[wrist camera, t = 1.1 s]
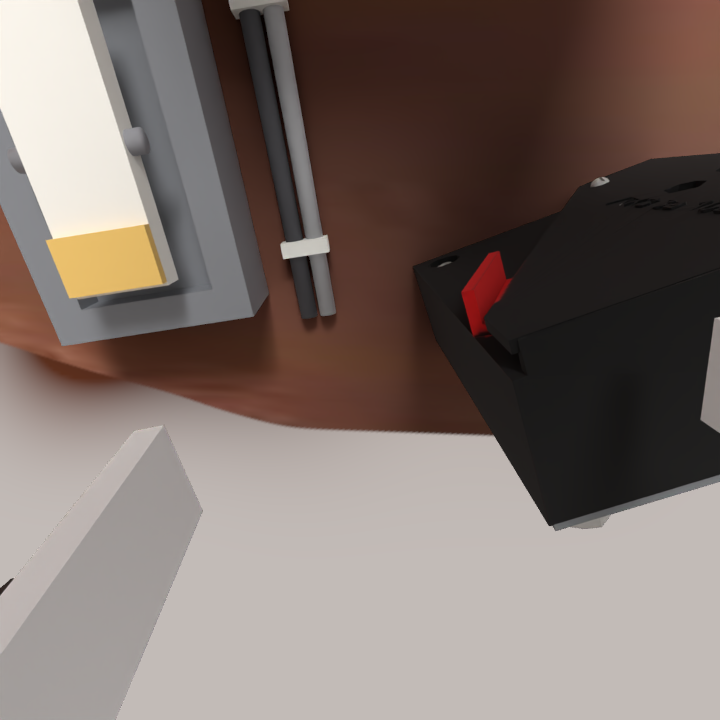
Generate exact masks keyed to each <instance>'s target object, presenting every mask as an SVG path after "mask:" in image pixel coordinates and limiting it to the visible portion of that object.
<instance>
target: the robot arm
mask: <svg viewBox="0 0 720 720" xmlns="http://www.w3.org/2000/svg"><path fill="white" fill-rule="evenodd" d="M701 420H702V421H703V422H705V423H706V424H707V425H709V426H710V427H712V428H713V429H715V430H716V431H717V432H719V433H720V317H718V318H714V325H713V333H712V340H711V347H710V354H709V362H708V369H707V376H706V383H705V391H704V398H703V405H702V412H701ZM202 511H203V510H202V508H201V506H200V504H199V501H198V499H197V497H196V495H195V492H194V491H193V488H192V486H191V484H190V481H189V479H188V477H187V475H186V473H185V470H184V468H183V466H182V463H181V461H180V459H179V457H178V455H177V452H176V450H175V448H174V446H173V443H172V441H171V439H170V437H169V435H168V432H167V430H166V428H165V426H164V425H161V426H156V427H151V428H146V429H140V430H135V431H133V433H132V434H131V435H130V436H129V438H128V439H127V440H126V441H125V443H124V444H123V445H122V446H121V447H120V449H119V450H118V451H117V452H116V454H115V455H114V456H113V457H112V459H111V460H110V461H109V462H108V463H107V465H106V466H105V467H104V469H103V470H102V471H101V472H100V473H99V475H98V476H97V477H96V478H95V480H94V481H93V482H92V483H91V485H90V486H89V487H88V488H87V489H86V491H85V492H84V493H83V494H82V496H81V497H80V498H79V499H78V500H77V502H76V503H75V504H74V505H73V507H72V508H71V509H70V510H69V512H68V513H67V514H66V515H65V516H64V518H63V519H62V520H61V522H60V523H59V524H58V525H57V526H56V528H55V529H54V530H53V531H52V533H51V534H50V535H49V536H48V538H47V539H46V540H45V541H44V542H43V544H42V545H41V546H40V547H39V549H38V550H37V551H36V552H35V553H34V555H33V556H32V557H31V558H30V560H29V561H28V562H27V563H26V564H25V566H24V567H23V568H22V570H21V571H20V572H19V573H18V574H17V576H16V577H15V578H12V579H10V580H9V581H8V582H7V583H6V584H5V585H3V586H2V587H1V588H0V720H116V718H117V715H118V712H119V710H120V708H121V706H122V703H123V701H124V698H125V696H126V694H127V691H128V689H129V686H130V684H131V681H132V679H133V676H134V674H135V672H136V670H137V667H138V665H139V662H140V660H141V658H142V655H143V653H144V650H145V648H146V646H147V643H148V641H149V638H150V636H151V634H152V631H153V629H154V627H155V624H156V622H157V619H158V617H159V615H160V612H161V610H162V607H163V605H164V603H165V600H166V598H167V595H168V593H169V591H170V588H171V586H172V583H173V581H174V578H175V576H176V574H177V571H178V569H179V567H180V564H181V562H182V559H183V557H184V555H185V552H186V550H187V547H188V545H189V543H190V540H191V538H192V535H193V533H194V531H195V528H196V526H197V523H198V521H199V518H200V516H201V514H202Z"/></svg>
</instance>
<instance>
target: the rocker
mask: <svg viewBox="0 0 720 720" xmlns="http://www.w3.org/2000/svg"><path fill="white" fill-rule="evenodd" d="M0 109H1V112H2V114H3V117H4V119H5V122H6V124H7V127H8V129H9V132H10V134H11V136H12V139H13V141H14V144H15V146H16V147H13V148H9V149H8V152H7V156H8V159H9V162H10V164H11V165H12V167H13V168H14V169H15V170H16V171H17V172H18V173H20V174H27V176H28V178H29V181H30V183H31V186H32V188H33V191H34V193H35V196H36V198H37V201H38V203H39V206H40V208H41V211H42V213H43V216H44V218H45V220H46V223H47V225H48V228H49V230H50V233H51V235H52V238H53V239H50V240H46V243H47V245H48V248H49V250H50V252H51V255H52V257H53V260H54V262H55V265H56V267H57V269H58V272H59V274H60V277H61V279H62V282H63V284H64V286H65V289H66V291H67V294H68V296H69V299H70V298H77V299H84V298H90V297H97V296H103V295H110V294H116V293H122V292H129V291H135V290H142V289H148V288H154V287H161V286H167V285H170V284H171V283H173V282H175V281H177V280H178V275H177V272H176V269H175V266H174V262H173V259H172V256H171V253H170V249H169V246H168V243H167V240H166V236H165V233H164V230H163V227H162V223H161V220H160V217H159V214H158V210H157V207H156V204H155V201H154V197H153V194H152V191H151V188H150V184H149V181H148V178H147V175H146V171H145V168H144V165H143V162H142V158H141V155H145V154H149V153H150V144H149V140H148V138H147V135H146V133H145V132H144V130H143V129H142V128H141V127H136V128H132V126H131V123H130V120H129V116H128V113H127V110H126V107H125V103H124V100H123V97H122V94H121V90H120V87H119V84H118V81H117V77H116V74H115V71H114V68H113V64H112V61H111V58H110V55H109V51H108V48H107V45H106V42H105V38H104V35H103V32H102V29H101V25H100V22H99V19H98V16H97V12H96V9H95V6H94V3H93V0H0Z"/></svg>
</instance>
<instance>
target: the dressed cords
mask: <svg viewBox="0 0 720 720" xmlns="http://www.w3.org/2000/svg"><path fill="white" fill-rule="evenodd" d="M228 1H229V5H230V10H231V12H232V13H233V15H234V16H235V18H236V19H240V22H241V26H242V31H243V36H244V41H245V46H246V51H247V55H248V60H249V65H250V70H251V75H252V80H253V85H254V89H255V94H256V99H257V104H258V109H259V114H260V118H261V123H262V128H263V133H264V138H265V143H266V147H267V152H268V157H269V162H270V167H271V172H272V177H273V181H274V186H275V191H276V196H277V201H278V206H279V210H280V215H281V220H282V225H283V230H284V235H285V240H286V241H285V242H282V243H281V244H280V246H281V251H282V255H283V259H288V258H289V259H290V264H291V269H292V273H293V278H294V283H295V288H296V293H297V298H298V302H299V307H300V312H301V317H302V318H303V319H309V318H313V317H316V316H317V315H318V314H317V309H316V304H315V299H314V293H313V288H312V283H311V278H310V272H309V267H308V262H307V257H306V256H307V255H309V258H310V263H311V268H312V274H313V279H314V284H315V290H316V295H317V300H318V305H319V311H320V315H321V316H329V315H333V314H335V313H336V308H335V302H334V296H333V291H332V285H331V279H330V273H329V268H328V262H327V256H326V253H327V252H330V246H329V240H328V235H323V233H322V227H321V222H320V216H319V210H318V204H317V199H316V193H315V187H314V182H313V176H312V170H311V164H310V159H309V153H308V147H307V141H306V136H305V130H304V124H303V118H302V113H301V107H300V101H299V95H298V90H297V84H296V78H295V72H294V67H293V61H292V55H291V49H290V44H289V38H288V32H287V26H286V21H285V15H284V11H289V5H288V0H228ZM260 15H264V20H265V25H266V30H267V35H268V41H269V46H270V51H271V57H272V62H273V67H274V73H275V78H276V83H277V88H278V94H279V99H280V104H281V110H282V115H283V120H284V125H285V131H286V136H287V141H288V147H289V152H290V157H291V163H292V168H293V173H294V178H295V184H296V189H297V194H298V200H299V205H300V210H301V215H302V221H303V226H304V231H305V237H306V238H304V239H303V236H302V231H301V225H300V220H299V215H298V210H297V204H296V199H295V194H294V189H293V184H292V178H291V173H290V168H289V163H288V157H287V152H286V147H285V142H284V137H283V131H282V126H281V121H280V116H279V110H278V105H277V100H276V95H275V90H274V84H273V79H272V74H271V69H270V63H269V58H268V53H267V48H266V42H265V37H264V32H263V27H262V22H261V16H260Z"/></svg>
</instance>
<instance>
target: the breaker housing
mask: <svg viewBox="0 0 720 720" xmlns="http://www.w3.org/2000/svg"><path fill="white" fill-rule="evenodd" d="M93 3H94V6H95V9H96V12H97V16H98V19H99V22H100V25H101V29H102V32H103V35H104V38H105V42H106V45H107V48H108V51H109V55H110V58H111V61H112V64H113V68H114V71H115V74H116V77H117V81H118V84H119V87H120V90H121V94H122V97H123V100H124V103H125V107H126V110H127V113H128V116H129V120H130V123H131V126H132V128H136V127H141V128H142V129H143V130H144V132H145V133H146V135H147V138H148V140H149V144H150V153H149V154H145V155H141V158H142V162H143V165H144V168H145V171H146V175H147V178H148V181H149V184H150V188H151V191H152V194H153V197H154V201H155V204H156V207H157V210H158V214H159V217H160V220H161V223H162V227H163V230H164V233H165V236H166V240H167V243H168V246H169V249H170V253H171V256H172V259H173V262H174V266H175V269H176V272H177V275H178V280H177V281H175V282H173V283H171V284H170V285H167V286H161V287H154V288H148V289H142V290H135V291H129V292H122V293H116V294H110V295H103V296H97V297H90V298H84V299H77V298H70V299H69V296H68V294H67V291H66V289H65V286H64V284H63V282H62V279H61V277H60V274H59V272H58V269H57V267H56V265H55V262H54V260H53V257H52V255H51V252H50V250H49V248H48V245H47V243H46V240H50V239H53V238H52V235H51V233H50V230H49V228H48V225H47V223H46V220H45V218H44V216H43V213H42V211H41V208H40V206H39V203H38V201H37V198H36V196H35V193H34V191H33V188H32V186H31V183H30V181H29V178H28V176H27V174H20V173H18V172H17V171H16V170H15V169H14V168H13V167H12V165H11V164H10V162H9V159H8V156H7V152H8V149H9V148H13V147H16V146H15V144H14V141H13V139H12V136H11V134H10V132H9V129H8V127H7V124H6V122H5V119H4V117H3V114H2V112H1V109H0V205H1V207H2V209H3V212H4V214H5V216H6V219H7V221H8V223H9V225H10V228H11V230H12V232H13V235H14V237H15V239H16V241H17V244H18V246H19V248H20V251H21V253H22V255H23V257H24V260H25V262H26V264H27V267H28V269H29V271H30V274H31V276H32V278H33V280H34V283H35V285H36V287H37V290H38V292H39V294H40V296H41V299H42V301H43V303H44V306H45V308H46V310H47V312H48V315H49V317H50V319H51V322H52V324H53V326H54V328H55V331H56V333H57V335H58V338H59V340H60V342H61V345H62V346H66V345H73V344H79V343H86V342H92V341H98V340H105V339H111V338H118V337H124V336H131V335H137V334H144V333H150V332H157V331H163V330H170V329H176V328H183V327H189V326H196V325H202V324H209V323H215V322H222V321H228V320H235V319H241V318H248V317H254V316H255V314H256V313H257V311H258V310H259V308H260V307H261V305H262V304H263V302H264V301H265V299H266V298H267V296H268V295H269V291H268V287H267V283H266V278H265V274H264V270H263V265H262V261H261V257H260V252H259V248H258V244H257V239H256V235H255V231H254V226H253V222H252V218H251V213H250V209H249V205H248V200H247V196H246V192H245V187H244V183H243V179H242V175H241V170H240V166H239V162H238V157H237V153H236V149H235V144H234V140H233V136H232V131H231V127H230V123H229V118H228V114H227V110H226V105H225V101H224V97H223V92H222V88H221V84H220V79H219V75H218V71H217V66H216V62H215V58H214V53H213V49H212V45H211V40H210V36H209V32H208V27H207V23H206V19H205V14H204V10H203V6H202V1H201V0H93Z"/></svg>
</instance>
